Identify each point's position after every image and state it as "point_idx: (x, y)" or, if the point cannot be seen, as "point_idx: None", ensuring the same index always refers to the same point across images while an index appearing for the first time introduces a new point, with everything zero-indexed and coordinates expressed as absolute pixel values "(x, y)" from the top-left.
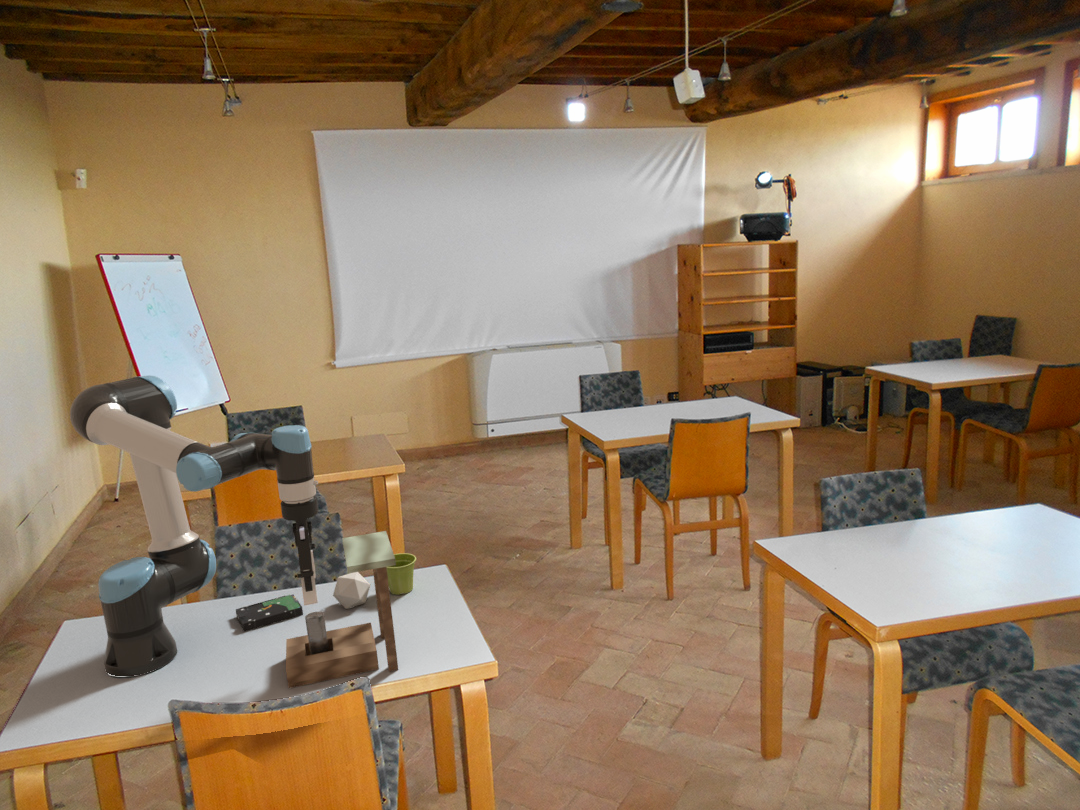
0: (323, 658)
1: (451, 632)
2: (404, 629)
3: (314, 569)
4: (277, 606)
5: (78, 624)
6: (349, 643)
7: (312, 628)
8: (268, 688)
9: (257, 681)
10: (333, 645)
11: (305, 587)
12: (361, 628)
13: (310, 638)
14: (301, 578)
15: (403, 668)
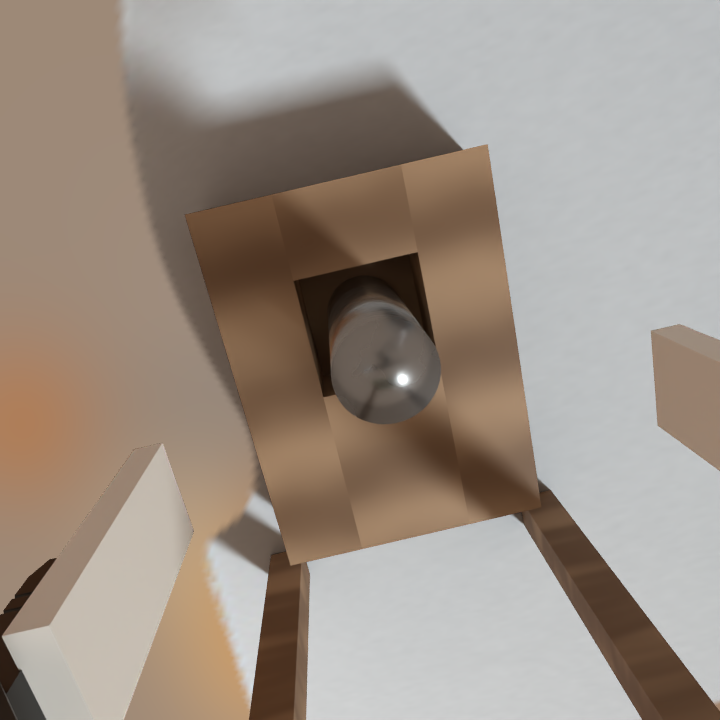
0: (258, 368)
1: (493, 706)
2: None
3: (705, 458)
4: None
5: None
6: (371, 453)
7: (330, 351)
8: (216, 119)
9: (281, 50)
10: None
11: (18, 597)
12: (497, 478)
13: (337, 317)
14: (16, 623)
15: None
